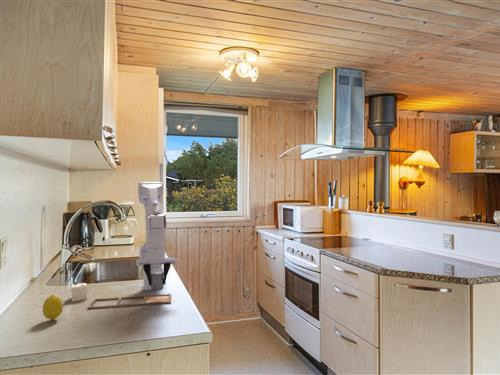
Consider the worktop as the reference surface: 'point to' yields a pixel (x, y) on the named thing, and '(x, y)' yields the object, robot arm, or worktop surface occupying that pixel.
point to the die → (79, 291)
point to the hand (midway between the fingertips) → (157, 284)
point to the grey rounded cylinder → (157, 281)
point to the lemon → (52, 307)
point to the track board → (150, 301)
